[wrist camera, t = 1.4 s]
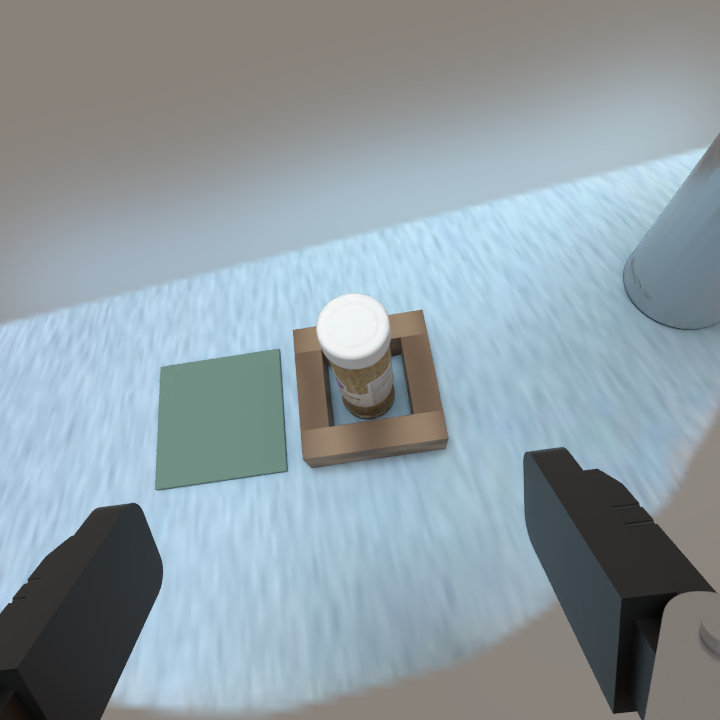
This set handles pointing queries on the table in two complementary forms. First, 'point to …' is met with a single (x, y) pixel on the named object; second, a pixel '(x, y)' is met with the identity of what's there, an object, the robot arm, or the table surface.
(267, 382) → the rubber mat
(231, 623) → the table surface
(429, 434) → the keeper collar
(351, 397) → the sprinkles bottle
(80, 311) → the table surface
